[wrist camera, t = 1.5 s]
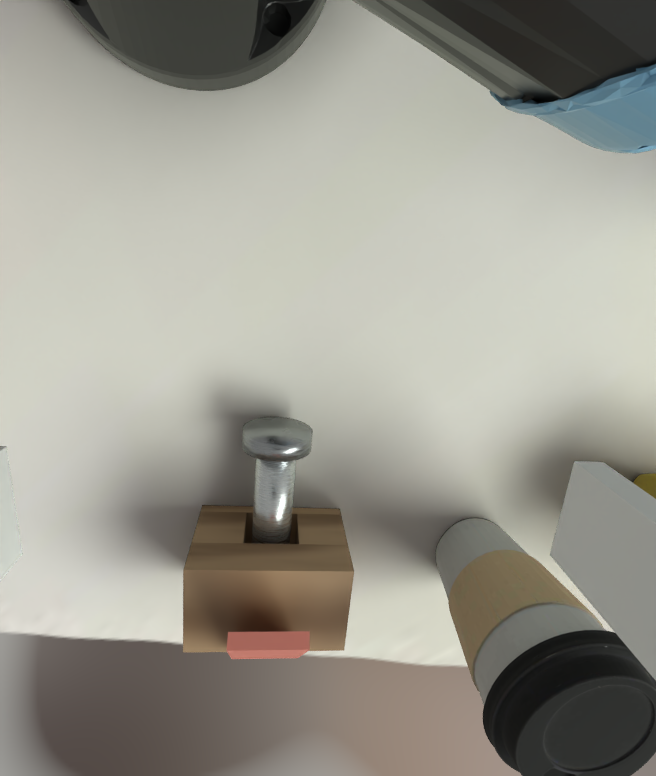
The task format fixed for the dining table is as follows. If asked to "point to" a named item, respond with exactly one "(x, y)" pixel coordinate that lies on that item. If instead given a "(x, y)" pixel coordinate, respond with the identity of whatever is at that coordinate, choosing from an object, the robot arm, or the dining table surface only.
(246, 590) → the block
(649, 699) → the coffee cup
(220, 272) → the dining table surface
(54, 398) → the dining table surface
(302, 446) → the pin
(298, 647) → the block
